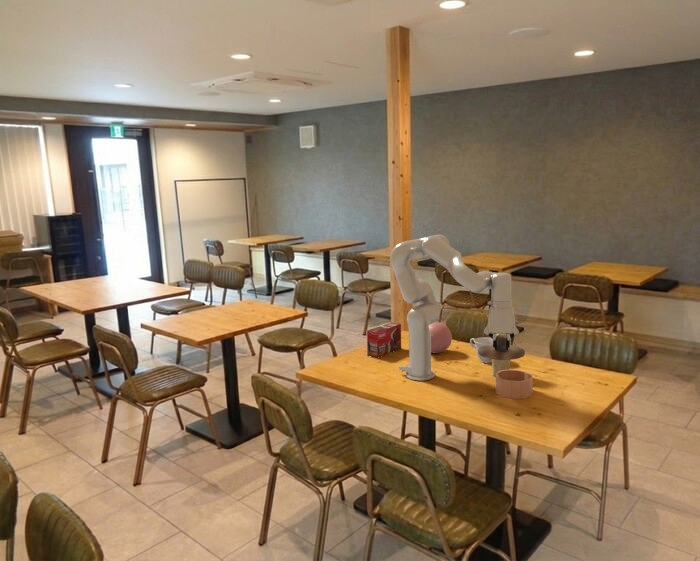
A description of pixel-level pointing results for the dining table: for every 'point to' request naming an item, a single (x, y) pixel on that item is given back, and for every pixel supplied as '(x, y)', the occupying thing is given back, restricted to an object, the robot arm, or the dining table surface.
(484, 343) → the teacup
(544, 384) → the dining table surface
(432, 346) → the balloon
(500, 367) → the food model
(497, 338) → the lid
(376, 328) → the ice cream box
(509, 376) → the bowl
